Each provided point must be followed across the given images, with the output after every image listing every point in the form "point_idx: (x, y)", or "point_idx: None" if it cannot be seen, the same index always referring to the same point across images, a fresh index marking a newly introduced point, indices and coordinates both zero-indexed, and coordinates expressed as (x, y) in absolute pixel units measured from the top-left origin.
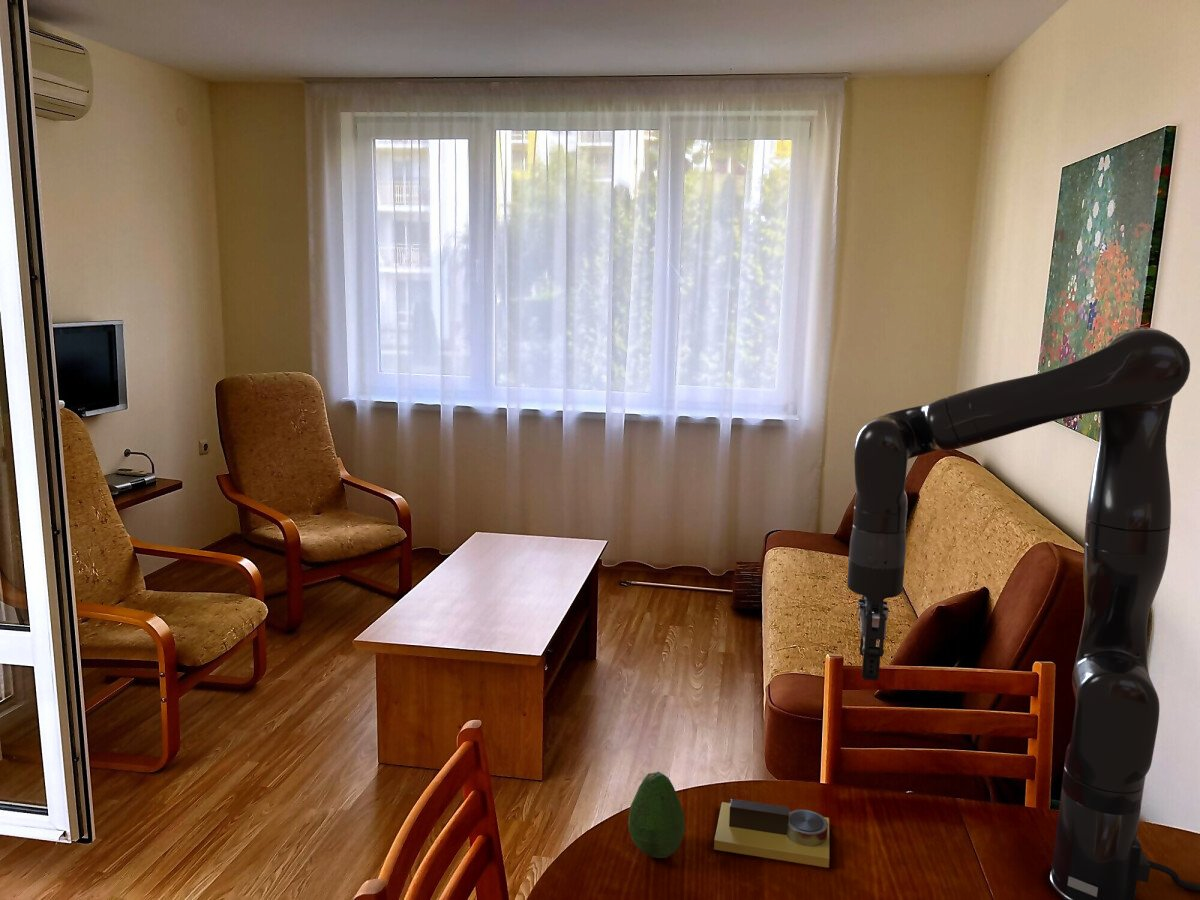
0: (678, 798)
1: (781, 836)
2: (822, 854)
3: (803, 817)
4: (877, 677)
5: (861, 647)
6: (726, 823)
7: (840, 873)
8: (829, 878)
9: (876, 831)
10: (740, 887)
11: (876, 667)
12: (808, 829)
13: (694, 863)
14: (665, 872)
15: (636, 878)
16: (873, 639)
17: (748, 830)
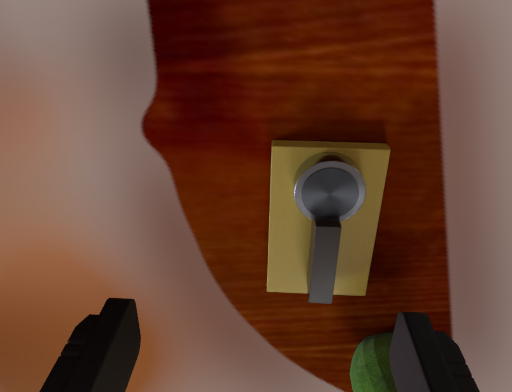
0: (390, 388)
1: None
2: (381, 159)
3: (321, 199)
4: (426, 321)
5: (130, 372)
6: None
7: (398, 126)
8: (412, 142)
9: (265, 58)
10: (441, 254)
11: (472, 382)
12: (355, 192)
13: (395, 304)
14: None
15: None
16: (104, 376)
17: None
